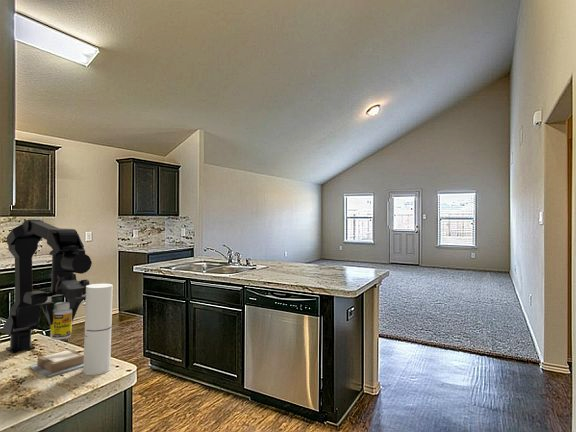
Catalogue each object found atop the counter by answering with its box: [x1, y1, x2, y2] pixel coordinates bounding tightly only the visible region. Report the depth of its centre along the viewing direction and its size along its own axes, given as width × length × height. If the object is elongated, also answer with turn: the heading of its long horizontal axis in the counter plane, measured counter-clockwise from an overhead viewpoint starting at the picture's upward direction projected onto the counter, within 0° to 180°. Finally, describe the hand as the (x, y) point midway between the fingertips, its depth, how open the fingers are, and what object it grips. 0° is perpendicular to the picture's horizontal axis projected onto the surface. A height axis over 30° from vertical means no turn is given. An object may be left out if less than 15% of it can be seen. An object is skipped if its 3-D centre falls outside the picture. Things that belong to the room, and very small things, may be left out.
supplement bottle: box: [49, 301, 73, 340], centre depth 115 cm, size 6×6×10 cm
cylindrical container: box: [82, 283, 114, 376], centre depth 113 cm, size 7×7×25 cm
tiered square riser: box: [29, 348, 84, 379], centre depth 115 cm, size 12×12×3 cm
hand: (61, 322), depth 115 cm, fingers closed on supplement bottle, 5 cm apart
